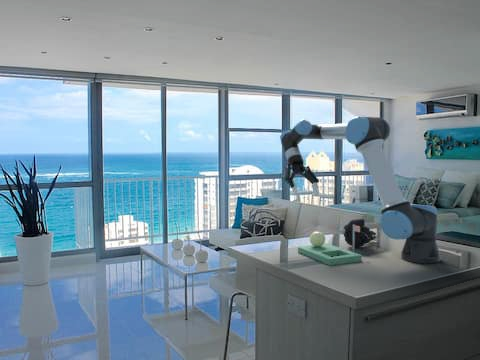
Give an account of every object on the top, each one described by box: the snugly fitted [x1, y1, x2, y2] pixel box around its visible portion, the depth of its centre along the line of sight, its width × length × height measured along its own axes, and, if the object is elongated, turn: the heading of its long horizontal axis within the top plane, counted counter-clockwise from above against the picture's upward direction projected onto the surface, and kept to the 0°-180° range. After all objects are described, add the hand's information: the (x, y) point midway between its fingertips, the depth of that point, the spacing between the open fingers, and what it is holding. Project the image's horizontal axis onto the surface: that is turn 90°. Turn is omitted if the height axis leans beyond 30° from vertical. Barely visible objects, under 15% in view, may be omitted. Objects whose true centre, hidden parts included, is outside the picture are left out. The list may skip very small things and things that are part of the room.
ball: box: [309, 230, 326, 247], centre depth 188 cm, size 7×7×7 cm
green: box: [297, 243, 363, 266], centre depth 181 cm, size 24×16×2 cm, turn 23°
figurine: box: [338, 218, 380, 249], centre depth 199 cm, size 14×13×30 cm
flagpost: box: [352, 225, 360, 253], centre depth 178 cm, size 4×1×14 cm, turn 23°
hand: (307, 194), depth 203 cm, fingers open, 13 cm apart
